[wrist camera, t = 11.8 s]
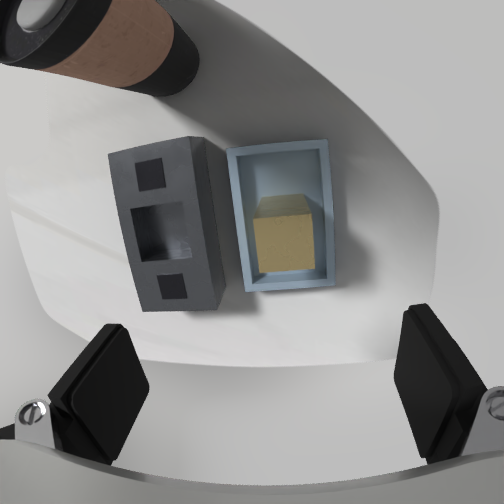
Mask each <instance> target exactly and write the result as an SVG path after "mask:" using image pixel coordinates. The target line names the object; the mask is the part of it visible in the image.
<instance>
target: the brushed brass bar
mask: <svg viewBox="0 0 504 504" xmlns="http://www.w3.org/2000/svg"><path fill="white" fill-rule="evenodd" d="M253 224H254V232H255V240H256V248H257V257H258V265H259V273H267V272H280V271H293V270H305V269H315V258H314V240H313V224H312V213H311V211H310V208H309V206H308V204H307V201H306V199H305V196H304V194H303V193H300V194H289V195H277V196H267V197H261V200H260V202H259V205H258V207H257V210H256V212H255V215H254V217H253Z"/></svg>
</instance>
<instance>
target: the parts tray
mask: <svg viewBox="0 0 504 504" xmlns="http://www.w3.org/2000/svg"><path fill="white" fill-rule="evenodd" d="M226 152H227V160H228V168H229V176H230V183H231V191H232V199H233V206H234V214H235V221H236V228H237V236H238V243H239V250H240V258H241V265H242V272H243V279H244V286H245V292H253V291H268V290H283V289H296V288H309V287H321V286H333V285H335V240H334V217H333V199H332V184H331V171H330V159H329V148H328V139H319V140H304V141H291V142H280V143H269V144H260V145H251V146H243V147H235V148H227V149H226ZM300 193H303V194H304V196H305V199H306V201H307V204H308V206H309V208H310V211H311V213H312V224H313V240H314V258H315V269H305V270H293V271H280V272H267V273H259V265H258V257H257V248H256V240H255V232H254V224H253V217H254V215H255V212H256V210H257V207H258V205H259V202H260V200H261V197H267V196H277V195H289V194H300Z"/></svg>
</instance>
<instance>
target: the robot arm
mask: <svg viewBox="0 0 504 504" xmlns="http://www.w3.org/2000/svg"><path fill="white" fill-rule="evenodd" d="M394 382H395V385H396V387H397V390H398V393H399V396H400V398H401V401H402V404H403V407H404V409H405V412H406V415H407V418H408V421H409V424H410V427H411V430H412V433H413V436H414V439H415V442H416V444H417V448H418V451H419V454H420V457H421V458H426V461H427V464H428V465H425V466H421V467H417V468H412V469H408V470H404V471H399V472H395V473H389V474H384V475H378V476H372V477H367V478H360V479H354V480H347V481H338V482H328V483H318V484H303V485H276V486H275V485H272V486H261V485H260V486H258V485H231V484H215V483H205V482H196V481H187V480H180V479H173V478H166V477H160V476H154V475H149V474H144V473H139V472H135V471H130V470H126V469H121V468H117V467H113V466H111V464H112V462H113V461H114V460H116V459H117V458H118V456H119V454H120V452H121V450H122V447H123V445H124V443H125V441H126V439H127V437H128V435H129V433H130V430H131V428H132V426H133V424H134V422H135V420H136V418H137V416H138V414H139V412H140V409H141V407H142V405H143V403H144V401H145V399H146V397H147V395H148V393H149V383H148V381H147V378H146V376H145V373H144V371H143V369H142V366H141V364H140V361H139V359H138V356H137V354H136V351H135V348H134V346H133V343H132V341H131V338H130V335H129V332H128V330H127V329H126V328H124V327H123V326H122V325H121V324H106V325H104V326H103V328H102V329H101V330H100V331H99V332H98V333H97V335H96V336H95V337H94V338H93V339H92V341H91V342H90V343H89V344H88V345H87V347H86V348H85V349H84V350H83V351H82V353H81V354H80V355H79V356H78V357H77V359H76V360H75V361H74V363H73V364H72V365H71V366H70V367H69V369H68V370H67V371H66V372H65V373H64V375H63V376H62V378H61V379H60V380H59V381H58V382H57V384H56V385H55V386H54V387H53V389H52V390H51V391H50V393H49V394H48V397H49V399H50V400H51V403H50V405H49V404H48V403H47V402H46V401H44V400H42V399H33V400H30V401H28V402H26V403H24V404H23V405H22V406H21V407H20V408H19V409H18V411H17V413H16V415H15V423H14V424H11V425H9V426H6V427H3V428H1V429H0V504H504V387H503V386H498V387H493V388H491V389H489V390H488V389H487V388H486V386H485V385H484V383H483V382H482V380H481V378H480V377H479V375H478V374H477V372H476V371H475V369H474V368H473V366H472V365H471V363H470V362H469V360H468V359H467V357H466V356H465V354H464V353H463V351H462V350H461V348H460V347H459V346H458V344H457V343H456V341H455V340H454V339H453V338H452V337H451V335H450V334H449V333H448V331H447V330H446V328H445V327H444V326H443V324H442V323H441V322H440V320H439V319H438V318H437V316H436V315H435V314H434V312H433V311H432V310H431V308H430V307H429V306H428V304H426V303H424V304H417V305H411V306H409V308H408V310H407V311H404V314H403V321H402V328H401V335H400V341H399V348H398V353H397V359H396V365H395V370H394Z"/></svg>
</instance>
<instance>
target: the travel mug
mask: <svg viewBox="0 0 504 504" xmlns="http://www.w3.org/2000/svg"><path fill="white" fill-rule="evenodd" d="M0 63H2V64H5V65H9V66H16V67H22V68H28V69H34V70H40V71H45V72H50V73H55V74H60V75H64V76H69V77H73V78H78V79H82V80H86V81H90V82H94V83H98V84H102V85H106V86H110V87H115V88H120V89H125V90H130V91H134V92H139V93H143V94H148V95H152V96H169V95H173V94H175V93H177V92H179V91H181V90H182V89H184V88H185V87H186V86H187V85H188V84H189V83H190V82H191V81H192V80H193V78H194V77H195V75H196V73H197V70H198V67H199V54H198V50H197V48H196V46H195V45H194V43H193V42H192V41H191V39H190V38H189V37H188V36H187V35H186V33H185V32H184V31H183V30H182V29H181V27H180V26H179V25H178V24H177V23H176V22H175V20H174V19H173V18H172V17H171V16H170V15H169V13H168V12H167V11H166V10H165V9H164V8H163V7H161V6H160V5H159V4H158V3H157V2H156V1H155V0H0Z"/></svg>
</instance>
